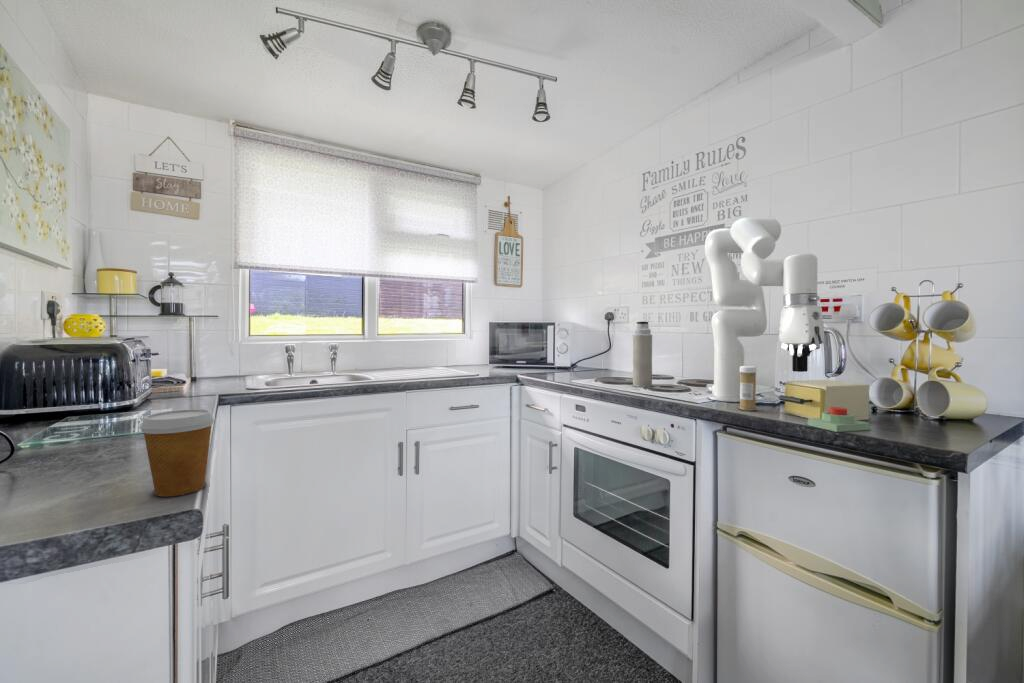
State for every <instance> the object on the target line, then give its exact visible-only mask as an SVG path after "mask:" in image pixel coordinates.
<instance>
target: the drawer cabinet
mask: <svg viewBox="0 0 1024 683" xmlns="http://www.w3.org/2000/svg"><path fill="white" fill-rule="evenodd" d="M786 384H789V385H799V386H806V387H813V388H820V389H824V412H826V411H829V408H830V407H839V408H845V409H847V413H850V414H853V415H855V420H857V421H864V420H869V414H870V384H867V383H859V382H858V383H857V382H850V381H843V380H833V379H808V380H807V379H806V380H803V379H802V380H787V381H786ZM786 414H787V415H792V416H797V417H801V418H806V419H812V418H815V417H810V416H806V415H801V414H796V413H792V412H787V411H786Z"/></svg>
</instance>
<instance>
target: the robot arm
mask: <svg viewBox="0 0 1024 683" xmlns="http://www.w3.org/2000/svg"><path fill="white" fill-rule="evenodd" d="M781 234H782V226H781V224H780V222H779V221H778V220H777V219H776V218H774V217H769V216H768V217H766V216H765V217H764V216H763V217H761V216H759V217H758V216H757V217H756V216H755V217H753V216H752V217H749V216H748V217H742V218H739V219H737V220H735V221H734V222H733V224H731V227H727V228H726V227H725V228H717V229H713V230H711V231H710V232H708V234H707V235H706V238H705V240H704V241H705V242H704V254H705V258H706V261H707V264H708V267H709V269H710V276H711V277H710V278H711V287H712V297H713V300H714V304H715V305H716V306H719V307H725V308H727V307H729V309H721V310H717V311H716V312H715V313H714V314H713V315H712V317H711V319H710V320H711V321H710V322H711V323H710V324H711V330H712V331H711V332H712V335H713V384H712V386H709V387H708V390H709V391H710V392H711V394H714V395H715V396H716V397H710V396H709V395H708V399H710V400H712V401H716V402H717V401H718V402H724V403H725V402H727V403H740V366H745V348H744V345H743V343H742V342H741V341H740V340H739V338H741V337H742V338H743V337H744V338H747V337H748V338H749V337H750V338H751V337H752V338H753V337H760V336H762V335H763V334H764V333H765V332H766V330H767V326H768V320H767V318H768V317H767V311H766V310H767V309H766V302H765V301H766V300H765V295H764V293H765V292H764V288H763V287H783V288H782V289H783V293H782V294H783V299H782V300H783V303H782V304H783V307H782V308H781V313H780V318H779V319H780V320H779V331H778V333H779V335H778V336H779V342H780V343H781V348H782V349H784V350H787V351H788V352H789V355H790V357H791V358H792V359H791V360H792V361H791V364H792V365H791V366H792V367H791V368H792V372H797V373H803V372H804V373H805V372H808V368H809V366H808V362H809V361H808V360H809V359H808V357H810V356H811V353H812V352H813V351H816V350H819V349H820V348H821V346H820V345H822V344H824V342H825V325H824V323H825V322H824V317H823V312H822V308H821V305H818V302H819V301H820V299H821V298H820V295H818V257H817V255H815V254H814V253H813V254H812V253H798V254H797V253H796V254H792V255H789V256H786V257H785V258H768V257H770V256H771V255H772V254H773V253H774V250H775V248H776V243H777V242H778V240H779V239H780V237H781ZM728 254H742V255H741V258H740V267H741V271H742V273H743V275H744V276H745V277H746V279H740V278H739V274H738V267H737V265H736V263H735V261H734V260H733V259H732V258H731V257H730V256H729V255H728ZM730 307H731V309H730ZM732 307H733V309H732ZM734 307H735V308H736V309H734ZM739 307H741V308H742V307H743V308H744V309H739Z"/></svg>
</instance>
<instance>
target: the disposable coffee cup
mask: <svg viewBox="0 0 1024 683" xmlns="http://www.w3.org/2000/svg"><path fill="white" fill-rule="evenodd" d="M142 417H143V418H142V420H141V424H140V425H139V429H140V430H141V433H143V436H144V442H145V448H146V453H147V457H148V463H149V468H150V474H151V478H152V485H153V489H154V495H155V496H157V497H167V498H169V497H177V496H183V495H187V494H191V493H194V492H197V491H199V490H201V489H203V488H204V487H205V485H206V477H207V468H208V462H209V461H208V460H209V453H210V443H211V435H212V428H213V425H214V422H215V420H216V417H215V416H214V415H213V412H212V410H211V409H207V408H205V409H204V408H194V409H193V408H190V409H189V408H188V409H176V410H167V411H162V412H160V411H159V412H156V413H151V414H147V415H145V416H142Z"/></svg>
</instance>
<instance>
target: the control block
mask: <svg viewBox="0 0 1024 683" xmlns="http://www.w3.org/2000/svg"><path fill="white" fill-rule="evenodd" d="M807 426H809V427H810V426H811V427H814V428H817V429H818V428H819V429H823V430H827V431H832V432H834V433H842V432H856V431H869V430H870V422H866V421H863V420H855V415H853V414H850V413H847V415H833V414H829V411H826V412H822V418H812V419H810V418H807Z"/></svg>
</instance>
